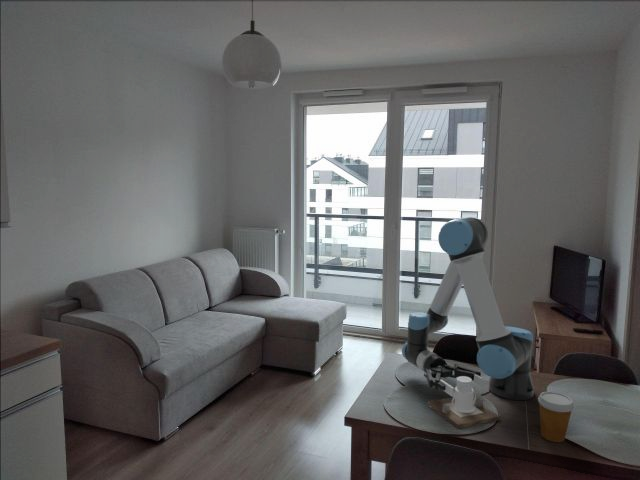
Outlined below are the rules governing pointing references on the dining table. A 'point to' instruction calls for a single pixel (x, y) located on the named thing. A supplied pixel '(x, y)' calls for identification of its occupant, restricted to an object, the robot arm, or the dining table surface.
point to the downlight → (464, 395)
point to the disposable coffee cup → (554, 415)
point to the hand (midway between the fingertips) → (471, 389)
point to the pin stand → (464, 419)
